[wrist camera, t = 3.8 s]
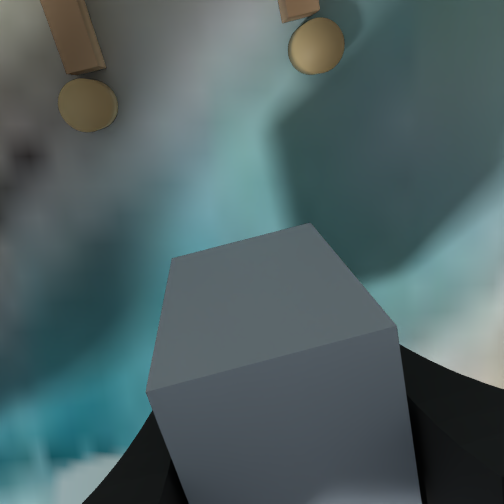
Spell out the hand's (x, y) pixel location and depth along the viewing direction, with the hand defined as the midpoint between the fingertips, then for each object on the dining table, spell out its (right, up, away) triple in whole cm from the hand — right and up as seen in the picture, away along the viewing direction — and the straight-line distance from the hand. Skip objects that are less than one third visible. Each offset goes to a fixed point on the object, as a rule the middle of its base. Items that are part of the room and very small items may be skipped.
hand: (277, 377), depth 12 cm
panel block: (0, +1, +1) cm, 2 cm away
